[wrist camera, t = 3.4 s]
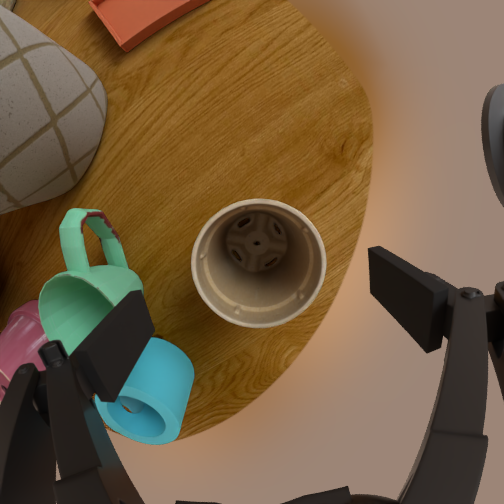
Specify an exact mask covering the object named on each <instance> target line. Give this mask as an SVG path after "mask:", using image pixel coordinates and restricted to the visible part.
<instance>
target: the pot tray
mask: <svg viewBox="0 0 504 504" xmlns="http://www.w3.org/2000/svg"><path fill="white" fill-rule="evenodd" d="M208 1H210V0H91V1H89V2H88V3H89V4H90V6H91V7H92V8H93V10H94V11H95V13H96V14H97V15H98V17H99V18H100V19H101V21H102V22H103V24H104V25H105V26H106V28H107V29H108V31H109V32H110V33H111V35H112V36H113V38H114V39H115V40H116V42H117V43H118V45H119V46H120V47H121V48H122V49H123V50H124V51H126V52H129V51H130V50H131V49H133V48H134V47H135V46H137V45H138V44H139V43H141V42H142V41H144V40H145V39H146V38H148V37H149V36H151V35H152V34H154V33H155V32H157V31H158V30H160V29H161V28H163V27H164V26H166V25H168V24H169V23H171V22H172V21H174V20H176V19H177V18H179V17H181V16H182V15H184V14H186V13H188V12H189V11H191V10H193V9H195V8H197V7H199V6H200V5H202V4H204V3H206V2H208Z"/></svg>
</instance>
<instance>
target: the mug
mask: <svg viewBox="0 0 504 504" xmlns="http://www.w3.org/2000/svg"><path fill="white" fill-rule="evenodd" d="M84 223H86V224H87V225H88V226H89V227H90V228H91V229H92V230H93V231H94V233H95V234H96V235H97V236H98V237H99V239H100V242H101V245H102V248H103V251H104V254H105V257H106V260H107V262H108V265H99V266H92V267H89V263H88V259H87V255H86V251H85V246H84V238H83V227H82V226H83V225H84ZM59 233H60V242H61V248H62V252H63V256H64V260H65V263H66V267H67V271H65V272H61V273H58V274H57V275H55V276H54V277H52V278H51V279H50V280H48V281H47V282H46V283H45V284H44V286H43V288H42V290H41V292H40V295H39V304H38V309H39V315H40V321H41V324H42V327H43V329H44V331H45V334H46V336H47V338H48V339H49V341H52V340H61V342H62V344H63V346H64V348H65V350H66V352H67V354H68V356H69V355H70V354H71V353H72V352H73V351H74V350H75V349H76V347H77V346H78V345H79V344H80V343H81V342H82V341H83V340H84V339H85V338H86V337H87V335H88V334H89V333H90V332H91V331H92V330H93V329H94V328H95V327H96V326H97V325H98V324H99V323H100V322H101V321H102V319H103V318H104V317H105V316H106V315H107V314H108V313H109V312H110V311H111V310H112V309H113V308H114V307H115V306H116V305H117V304H118V303H119V302H120V301H121V300H122V299H123V298H124V297H125V296H126V295H127V294H128V293H129V292H130V291H134V290H140V289H141V290H142V293H143V297H144V288H143V285H142V282H141V280H140V278H139V276H138V275H137V274H136V273H135V272H134V271H132V270H130V269H129V268H128V265H127V262H126V259H125V255H124V252H123V249H122V245H121V242H120V238H119V236H118V234H117V233H116V231H115V230H114V228H113V227H112V225H111V224H110V222H109V221H108V219H107V218H106V216H105V215H104V213H103V212H102V211H100V210H96V209H80V208H73V209H70V210H68V212H67V214H66V215H65V217H64V219H63V221H62V223H61V225H60V227H59Z"/></svg>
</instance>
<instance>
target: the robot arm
mask: <svg viewBox="0 0 504 504" xmlns="http://www.w3.org/2000/svg"><path fill="white" fill-rule="evenodd" d="M368 258H369V275H370V293H371V294H372V295H373V296H374V297H375V298H376V299H377V300H378V301H379V302H380V304H381V305H382V306H383V307H384V308H385V309H386V310H387V311H388V312H389V313H390V314H391V315H392V316H393V317H394V318H395V319H396V320H397V321H398V323H399V324H400V325H401V326H402V327H403V328H404V329H405V330H406V331H407V332H408V333H409V334H410V335H411V337H412V338H413V339H414V340H415V341H416V342H417V343H418V344H419V345H420V347H421V348H422V349H423V350H424V351H425V352H426V353H429V352H432V351H434V350H436V349H439V348H441V344H442V339H443V336H444V337H446V338H447V339H448V344H447V349H446V354H445V359H444V366H443V371H442V375H441V380H440V384H439V388H438V393H437V396H436V400H435V404H434V408H433V411H432V414H431V417H430V421H429V424H428V427H427V430H426V433H425V436H424V439H423V442H422V444H421V447H420V450H419V452H418V455H417V457H416V460H415V463H414V465H413V467H412V470H411V472H410V474H409V476H408V479H407V480H406V483H405V485H404V487H403V489H402V491H401V492H400V494H399V496H398V498H397V500H393V499H390V498H387V497H382V496H377V495H368V494H367V495H365V494H355V495H350V492H349V488H348V486H345V487H342V488H338V489H333V490H329V491H325V492H320V493H315V494H309V495H304V496H302V497H299V498H296V499H293V500H291V501H288V502H285V503H282V504H474V501H475V498H476V495H477V491H478V487H479V484H480V480H481V476H482V472H483V467H484V463H485V458H486V452H487V447H488V437H487V435H483V427H484V420H485V411H486V399H487V384H488V351H489V354H490V356H491V359H492V362H493V365H494V368H495V372H496V374H497V378H498V381H499V385H500V389H501V393H502V396H503V400H504V281H503V282H499V283H497V284H496V286H495V293H494V294H493V295H487V296H484V295H483V293H482V292H481V291H480V290H479V289H476V288H471V287H463V288H460V289H457V288H456V287H454V286H453V285H451V284H449V283H447V282H445V280H443V279H440V277H438V276H436V275H435V274H431V273H428V272H423V271H422V270H420V269H418V268H417V267H415V266H413V265H412V264H410V263H408V262H407V261H405V260H403V259H402V258H400V257H398V256H396V255H395V254H393V253H391V252H389V251H388V250H386V249H384V248H383V247H381V246H376V247H371V248H368ZM154 332H155V328H154V326H153V323H152V320H151V317H150V314H149V311H148V309H147V306H146V303H145V300H144V297H143V293H142V290H141V289H140V290H134V291H130V292H129V293H128V294H127V295H126V296H125V297H124V298H123V299H122V300H121V301H120V302H119V303H118V304H117V305H116V306H115V307H114V308H113V309H112V310H111V311H110V312H109V313H108V314H107V315H106V316H105V317H104V318H103V319H102V321H101V322H100V323H99V324H98V325H97V326H96V327H95V328H94V329H93V330H92V331H91V332H90V333H89V334H88V335H87V337H86V338H85V339H84V340H83V341H82V342H81V343H80V344H79V345H78V346H77V347H76V349H75V350H74V351H73V352H72V353H71V354H70V355H69V356H68V354H67V352H66V350H65V348H64V346H63V344H62V342H61V340H52V341H49V342H47V343H45V344H43V345H42V346H41V347H40V348H39V349H38V351H37V352H38V354H39V356H40V358H41V360H42V362H43V364H44V366H45V367H46V370H44V371H38V369H37V368H36V366H35V364H34V363H26V364H22V365H20V366H19V368H18V369H17V370H16V371H15V373H14V375H13V377H12V379H11V381H10V383H9V386H8V388H7V390H6V392H5V395H4V397H3V399H2V402H1V404H0V504H56V502H57V504H145V503H144V502H143V500H142V498H141V497H140V495H139V493H138V492H137V490H136V488H135V487H134V485H133V483H132V481H131V480H130V478H129V476H128V474H127V473H126V470H125V469H124V467H123V465H122V463H121V461H120V459H119V457H118V455H117V453H116V451H115V449H114V447H113V445H112V442H111V440H110V438H109V436H108V433H107V431H106V429H105V426H104V424H103V422H102V419H101V417H100V414H99V412H98V409H97V406H96V404H95V402H94V400H93V399H92V396H93V394H94V392H95V393H96V394H97V396H98V398H99V399H100V401H101V402H112V403H114V402H115V401H116V399H117V397H118V395H119V393H120V391H121V390H122V388H123V386H124V384H125V382H126V381H127V379H128V377H129V375H130V373H131V372H132V370H133V368H134V366H135V364H136V363H137V361H138V359H139V357H140V356H141V354H142V352H143V350H144V349H145V347H146V345H147V344H148V342H149V340H150V338H151V337H152V335H153V333H154ZM56 460H57V464H58V469H59V473H60V477H61V480H58V481H56ZM175 504H220V503H215V502H213V503H212V502H190V501H189V502H188V501H176V503H175Z"/></svg>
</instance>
